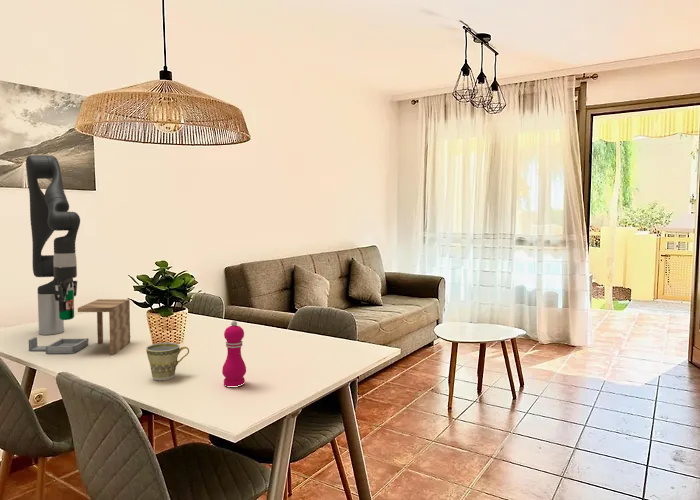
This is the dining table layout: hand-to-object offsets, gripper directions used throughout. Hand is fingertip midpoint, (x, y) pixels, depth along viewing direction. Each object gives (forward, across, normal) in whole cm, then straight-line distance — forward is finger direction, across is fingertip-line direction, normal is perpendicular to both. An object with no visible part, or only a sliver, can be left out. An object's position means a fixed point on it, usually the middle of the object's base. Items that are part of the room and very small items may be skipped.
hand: (66, 309), depth 190 cm
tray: (+15, 0, -4) cm, 15 cm away
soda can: (+4, 0, 0) cm, 4 cm away
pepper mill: (+16, +41, +68) cm, 81 cm away
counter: (+15, -1, +14) cm, 20 cm away
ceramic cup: (+16, +33, +46) cm, 59 cm away
